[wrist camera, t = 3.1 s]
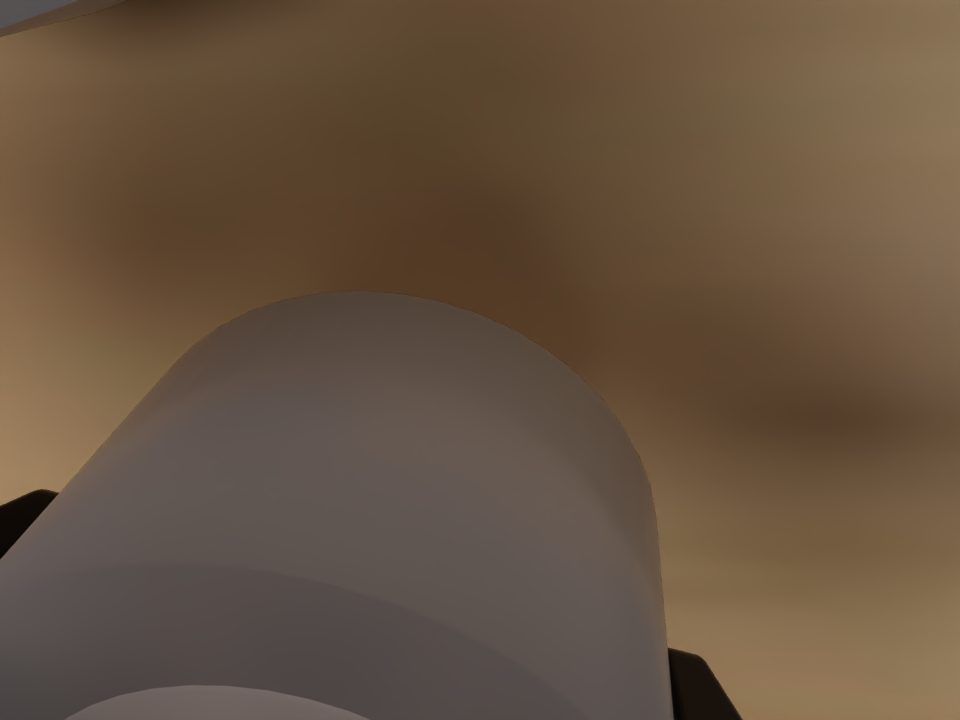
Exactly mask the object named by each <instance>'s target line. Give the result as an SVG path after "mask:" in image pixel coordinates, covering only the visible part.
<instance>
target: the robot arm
mask: <svg viewBox="0 0 960 720" xmlns="http://www.w3.org/2000/svg"><path fill="white" fill-rule="evenodd" d="M58 494H59V493H58V492H54V491H50V490H45V489H40V490H35V491H33V492H30V493H28V494H26V495H23V496H21V497H19V498H17V499H14V500H12V501H10V502H8V503H5V504H3V505H1V506H0V559H1V558H2V557H3V556H4V555H5V554H6V553H7V552H8V550H9V549H10V548H11V547H12V546H13V545H14V544H15V543H16V541H17V540H18V539H19V538H20V537H21V536H22V535H23V534H24V532H25V531H26V530H27V529H28V528H29V527H30V526H31V525H32V523H33V522H34V521H35V520H36V519H37V518H38V517H39V516H40V514H41V513H42V512H43V511H44V510H45V509H46V508H47V507H48V505H49V504H50V503H51V502H52V501H53V500H54V499H55V498H56V496H57V495H58ZM668 659H669V670H670V682H671V693H672V705H673V716H674V720H743V719H742V718H741V716H740V715H739V713H738V712H737V710H736V708H735V707H734V705H733V704H732V702H731V701H730V699H729V697H728V696H727V694H726V693H725V691H724V690H723V688H722V687H721V685H720V683H719V682H718V680H717V679H716V677H715V676H714V674H713V672H712V671H711V669H710V668H709V666H708V665H707V663H706V662H705V661H704V660H703V659H702V658H701V657H700V656H698V655H695V654H691V653H688V652H684V651H680V650H676V649H672V648H668Z"/></svg>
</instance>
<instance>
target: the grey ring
mask: <svg viewBox="0 0 960 720" xmlns="http://www.w3.org/2000/svg"><path fill="white" fill-rule="evenodd" d="M124 1H127V0H0V37H1V36H5V35H8V34H12V33H16V32H20V31H24V30H28V29H32V28H36V27H40V26H44V25H48V24H52V23H56V22H60V21H64V20H68V19H71V18H75V17H79V16H83V15H87V14H91V13H94V12H97V11H99V10H102V9H105V8H108V7H110V6H113V5H116V4H119V3H121V2H124Z"/></svg>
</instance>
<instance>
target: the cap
mask: <svg viewBox="0 0 960 720" xmlns="http://www.w3.org/2000/svg"><path fill="white" fill-rule="evenodd" d="M0 720H674V716H673V705H672V693H671V682H670V670H669V659H668V647H667V636H666V624H665V613H664V601H663V589H662V578H661V566H660V555H659V543H658V532H657V520H656V513H655V508H654V503H653V497H652V492H651V487H650V484H649V481H648V479H647V476H646V473H645V470H644V468H643V465H642V462H641V459H640V457H639V455H638V453H637V451H636V449H635V448H634V446H633V444H632V442H631V440H630V438H629V436H628V435H627V433H626V431H625V429H624V428H623V426H622V425H621V423H620V422H619V421H618V419H617V418H616V417H615V415H614V414H613V413H612V411H611V410H610V409H609V407H608V406H607V405H606V403H605V402H604V401H603V399H602V398H601V397H600V396H599V395H598V394H597V393H596V392H595V391H594V390H593V389H592V388H591V387H590V386H589V385H588V384H587V383H586V382H585V381H584V380H583V379H582V378H581V377H580V376H579V375H578V374H577V373H576V372H574V371H573V370H572V369H571V368H569V367H568V366H567V365H566V364H564V363H563V362H562V361H561V360H559V359H558V358H557V357H556V356H554V355H553V354H552V353H550V352H549V351H548V350H546V349H545V348H543V347H541V346H540V345H538V344H536V343H535V342H533V341H532V340H530V339H528V338H527V337H525V336H523V335H522V334H520V333H518V332H517V331H515V330H513V329H511V328H509V327H507V326H504V325H502V324H500V323H498V322H496V321H493V320H491V319H489V318H487V317H485V316H482V315H480V314H478V313H475V312H472V311H469V310H465V309H462V308H459V307H456V306H453V305H450V304H447V303H443V302H440V301H436V300H431V299H425V298H420V297H415V296H410V295H405V294H399V293H385V292H370V291H347V292H328V293H318V294H313V295H307V296H302V297H296V298H291V299H285V300H282V301H279V302H276V303H273V304H270V305H267V306H264V307H261V308H258V309H255V310H252V311H250V312H248V313H246V314H244V315H242V316H240V317H238V318H235V319H233V320H231V321H229V322H227V323H225V324H223V325H221V326H220V327H218V328H217V329H216V330H214V331H213V332H211V333H210V334H208V335H207V336H206V337H204V338H203V339H201V340H200V341H198V342H197V343H196V344H194V345H193V346H192V347H191V348H190V349H189V350H188V351H187V352H186V353H185V354H184V355H183V356H182V357H181V358H180V359H179V360H178V361H177V362H176V363H175V364H174V365H173V366H172V367H171V368H170V369H169V370H168V371H167V373H166V374H165V375H164V376H163V377H162V378H161V379H160V380H159V382H158V383H157V384H156V385H155V386H154V387H153V388H152V389H151V391H150V392H149V393H148V394H147V395H146V396H145V397H144V398H143V400H142V401H141V402H140V403H139V404H138V405H137V406H136V407H135V409H134V410H133V411H132V412H131V413H130V414H129V415H128V416H127V418H126V419H125V420H124V421H123V422H122V423H121V424H120V425H119V427H118V428H117V429H116V430H115V431H114V432H113V433H112V434H111V436H110V437H109V438H108V439H107V440H106V441H105V442H104V443H103V445H102V446H101V447H100V448H99V449H98V450H97V451H96V452H95V454H94V455H93V456H92V457H91V458H90V459H89V460H88V461H87V463H86V464H85V465H84V466H83V467H82V468H81V469H80V470H79V472H78V473H77V474H76V475H75V476H74V477H73V478H72V480H71V481H70V482H69V483H68V484H67V485H66V486H65V487H64V489H63V490H62V491H61V492H60V493H59V494H58V495H57V496H56V498H55V499H54V500H53V501H52V502H51V503H50V504H49V505H48V507H47V508H46V509H45V510H44V511H43V512H42V513H41V514H40V516H39V517H38V518H37V519H36V520H35V521H34V522H33V523H32V525H31V526H30V527H29V528H28V529H27V530H26V531H25V532H24V534H23V535H22V536H21V537H20V538H19V539H18V540H17V541H16V543H15V544H14V545H13V546H12V547H11V548H10V549H9V550H8V552H7V553H6V554H5V555H4V556H3V557H2V558H1V559H0Z"/></svg>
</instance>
